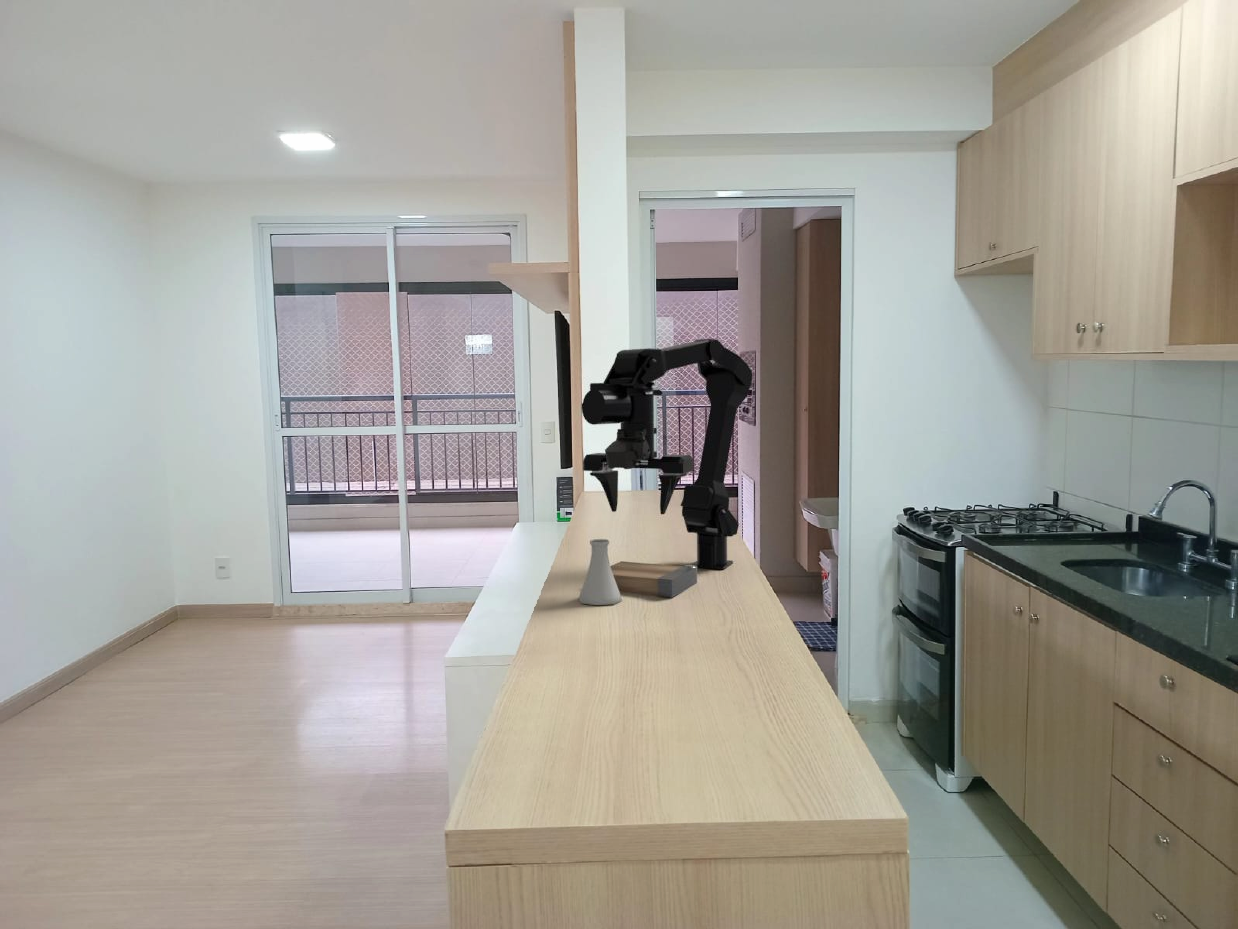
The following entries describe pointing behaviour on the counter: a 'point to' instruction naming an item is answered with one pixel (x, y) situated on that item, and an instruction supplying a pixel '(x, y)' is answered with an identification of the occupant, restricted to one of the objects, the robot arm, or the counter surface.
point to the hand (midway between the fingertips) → (638, 512)
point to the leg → (677, 581)
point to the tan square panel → (639, 576)
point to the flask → (599, 577)
